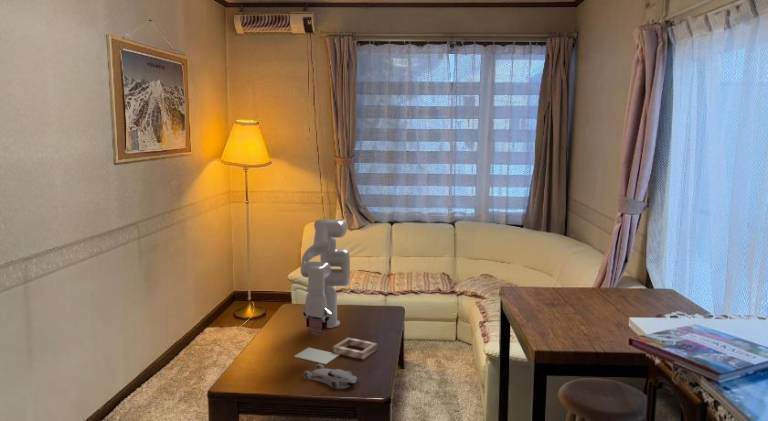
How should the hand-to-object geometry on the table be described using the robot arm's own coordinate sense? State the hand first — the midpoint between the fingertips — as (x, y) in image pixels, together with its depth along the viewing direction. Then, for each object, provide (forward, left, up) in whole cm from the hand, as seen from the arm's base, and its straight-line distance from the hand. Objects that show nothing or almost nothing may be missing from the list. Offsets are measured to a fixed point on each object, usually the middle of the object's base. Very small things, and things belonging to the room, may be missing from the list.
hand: (316, 327), depth 252 cm
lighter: (0, 0, -3) cm, 3 cm away
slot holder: (+13, +14, -14) cm, 24 cm away
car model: (+20, -17, -15) cm, 30 cm away
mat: (0, 0, -14) cm, 14 cm away
